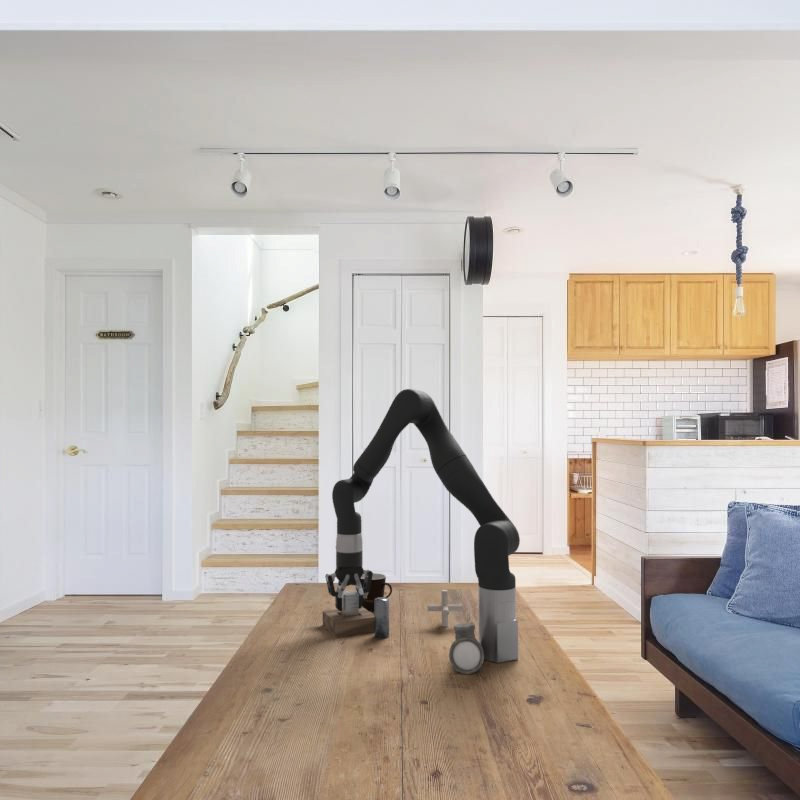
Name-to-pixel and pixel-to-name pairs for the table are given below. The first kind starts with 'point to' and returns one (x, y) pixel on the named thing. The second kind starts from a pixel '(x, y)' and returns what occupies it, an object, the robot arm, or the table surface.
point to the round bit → (381, 617)
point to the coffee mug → (374, 590)
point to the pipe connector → (445, 608)
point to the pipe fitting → (466, 649)
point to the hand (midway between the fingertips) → (349, 608)
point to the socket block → (348, 622)
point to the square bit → (350, 604)
